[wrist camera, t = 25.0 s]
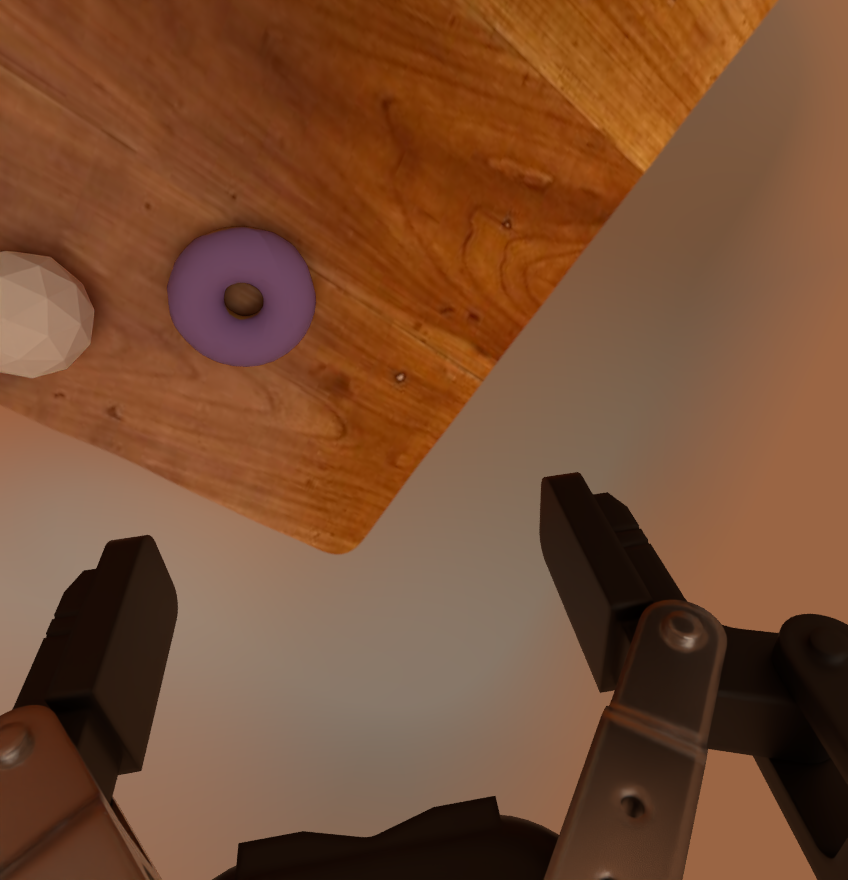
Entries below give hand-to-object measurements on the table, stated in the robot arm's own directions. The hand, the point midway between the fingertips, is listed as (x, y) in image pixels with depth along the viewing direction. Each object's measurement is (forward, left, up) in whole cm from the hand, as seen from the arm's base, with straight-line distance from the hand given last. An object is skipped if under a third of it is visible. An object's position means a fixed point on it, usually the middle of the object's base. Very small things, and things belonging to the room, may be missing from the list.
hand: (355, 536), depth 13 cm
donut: (-5, -8, -34) cm, 36 cm away
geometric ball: (-18, -10, -34) cm, 40 cm away
